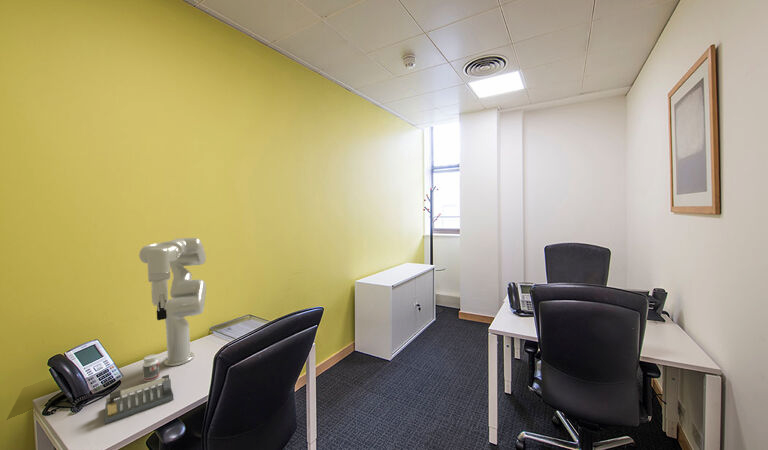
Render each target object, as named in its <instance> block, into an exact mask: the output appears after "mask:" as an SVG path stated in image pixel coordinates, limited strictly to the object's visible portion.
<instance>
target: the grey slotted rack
mask: <svg viewBox="0 0 768 450" xmlns="http://www.w3.org/2000/svg"><path fill="white" fill-rule="evenodd" d="M165 377H167V378H168V380H165V381H163V383H162V384H159V385H155V386H152V387H149V388H146V389H143V390H140V391H136V392H133V393H130V394H127V395H125V396H121V397H119V398H116V399H113V400H110V396H109V397H106V401H105V408H104V425H108V424H110V423H113V422H116V421H119V420H121V419H125V418H127V417H129V416H132V415H135V414H138V413H141V412H144V411H147V410H149V409H152V408H155V407H157V406H161V405H163V404H166V403H168V402H171V401H174V393H173V390H172V382H171V381H172V380H171V378H170V374H166V375H162V376H161V378H165Z"/></svg>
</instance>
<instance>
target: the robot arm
mask: <svg viewBox="0 0 768 450" xmlns="http://www.w3.org/2000/svg"><path fill="white" fill-rule="evenodd" d="M138 256H139V259H140V261H141V262H142V263H144V264H147V277H148V278H147V279H148V282H149V283H151V303H152V305H153V306H154V307H155V306H156V320H157V321H162V320H164V322H165V331H166V332H165V334H166V335H165V336H166V351H167V354H166V355H167V358H165V360H164V361H163V364H164V366H166V367H174V366H175V367H177V366H181V365H183V364H186V363H189V362H190V361H192V360H193V359H194V357H195V353H194V352H191V342H190V341H191V340H190V338H191V337H190V324H189V321H188V320H187V319H186V318H185V317H192V316H193V317H194V316H197V315H201V314H202V313H203V312H204V309H205V303H206V302H205V301H206V293H207V284H206V282H205V281H204V280H203V279H199V278H198V279H193V274H192V273H191V272H190V270H189V269H187V268H185V267H191V266H201V265H203V264H205V262H206V260H207V256H206V252H205V249H204V246H203V243H202V241H201V240H200V239H199V238H197V237H183V238H181V237H180V238H174V239H172V240H169V241H163V242H157V243H152V244H147V245H145V246H143V247H142V248H141V249H140V251H139V255H138ZM171 272H172V282H171V286H170V293H169V284H168V281H169V280H171ZM169 295H170V297H171V298H169Z"/></svg>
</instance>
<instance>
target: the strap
mask: <svg viewBox="0 0 768 450" xmlns="http://www.w3.org/2000/svg"><path fill="white" fill-rule="evenodd" d="M165 380H168V378H167V377H165V378H162V377H161V378H157V379H155V380H152V381H147V382H145V383H142V384H139V385H135V386H131V387H128V388H125V389H122V390H121V389H120V390H116V391H113V392H110V393H109V397H110V400H113V399H114V400H117V399H120V397H121V396H122V397H125V396H127V394H130V395H131V394H134V392H136V391H137V392H141V391H142V390H143V389H144V390H147V389H148V388H149V387H151V388H153V387H155V385H158V386H160V385H162V383H163V381H165Z"/></svg>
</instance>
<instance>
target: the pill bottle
mask: <svg viewBox="0 0 768 450" xmlns="http://www.w3.org/2000/svg"><path fill="white" fill-rule="evenodd" d="M157 358H158V355H157V354H156V353H154V354H153V353H152V354H149V355H146V356H144V357H143V363H142V374H143V375H142V376H143V381H144V382H151V381H154V380H157V379H159V377H160V364H159V362H160V361H159V359H157Z"/></svg>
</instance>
